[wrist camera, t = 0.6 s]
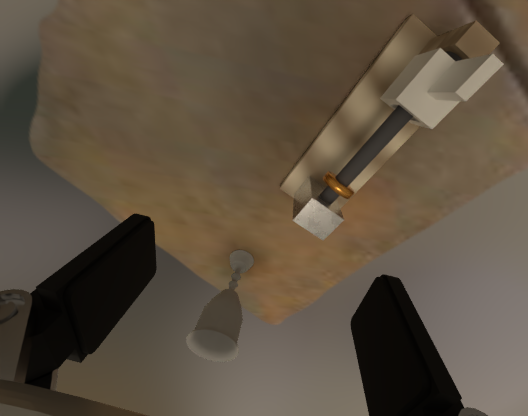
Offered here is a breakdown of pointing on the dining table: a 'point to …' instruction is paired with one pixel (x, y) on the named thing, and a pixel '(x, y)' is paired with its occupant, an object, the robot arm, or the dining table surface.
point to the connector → (319, 205)
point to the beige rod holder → (379, 103)
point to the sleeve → (438, 85)
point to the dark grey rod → (372, 147)
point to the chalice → (221, 318)
